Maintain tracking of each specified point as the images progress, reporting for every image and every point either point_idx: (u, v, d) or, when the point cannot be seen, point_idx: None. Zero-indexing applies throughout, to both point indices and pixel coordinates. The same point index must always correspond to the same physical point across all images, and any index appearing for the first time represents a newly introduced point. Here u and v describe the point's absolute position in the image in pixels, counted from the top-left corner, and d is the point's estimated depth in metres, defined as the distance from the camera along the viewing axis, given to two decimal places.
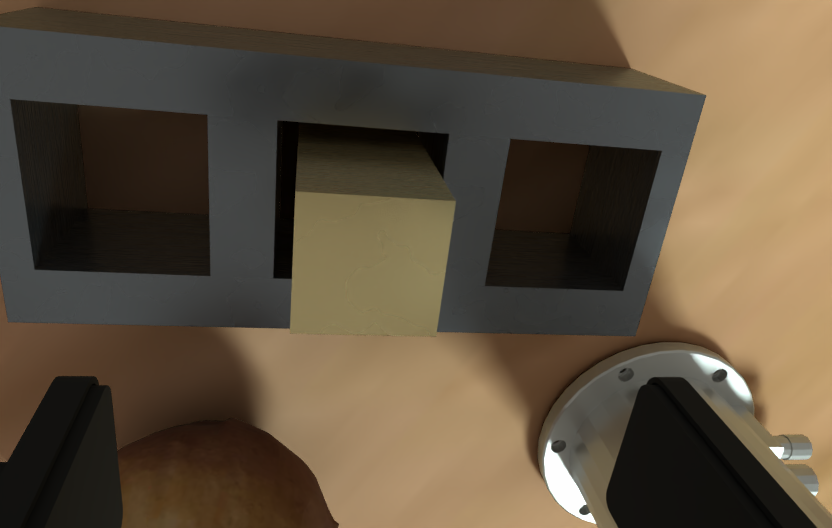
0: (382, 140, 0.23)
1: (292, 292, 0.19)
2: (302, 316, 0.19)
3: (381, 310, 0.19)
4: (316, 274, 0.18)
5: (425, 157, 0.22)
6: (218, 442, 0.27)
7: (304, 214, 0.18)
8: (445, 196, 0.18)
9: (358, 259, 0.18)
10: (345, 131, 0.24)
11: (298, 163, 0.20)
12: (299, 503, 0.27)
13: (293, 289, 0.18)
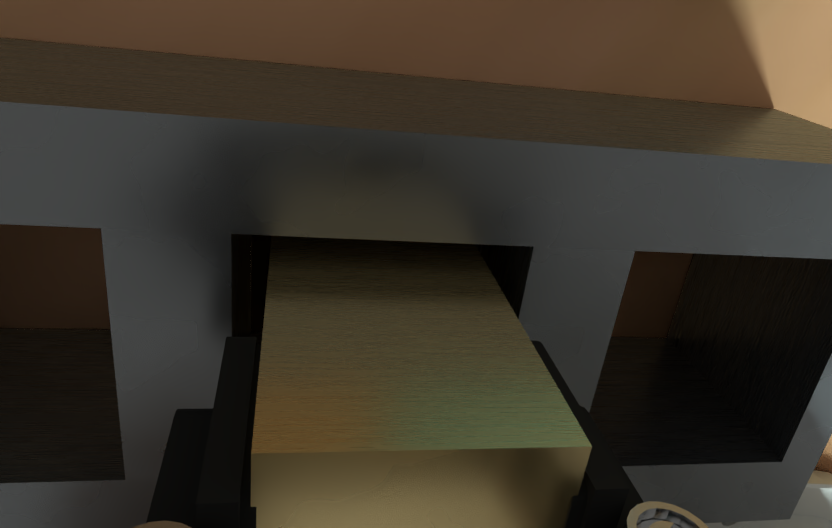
0: (413, 249, 0.14)
1: None
2: None
3: None
4: None
5: (494, 292, 0.12)
6: None
7: (272, 492, 0.08)
8: (566, 429, 0.09)
9: None
10: None
11: (265, 337, 0.10)
12: None
13: None
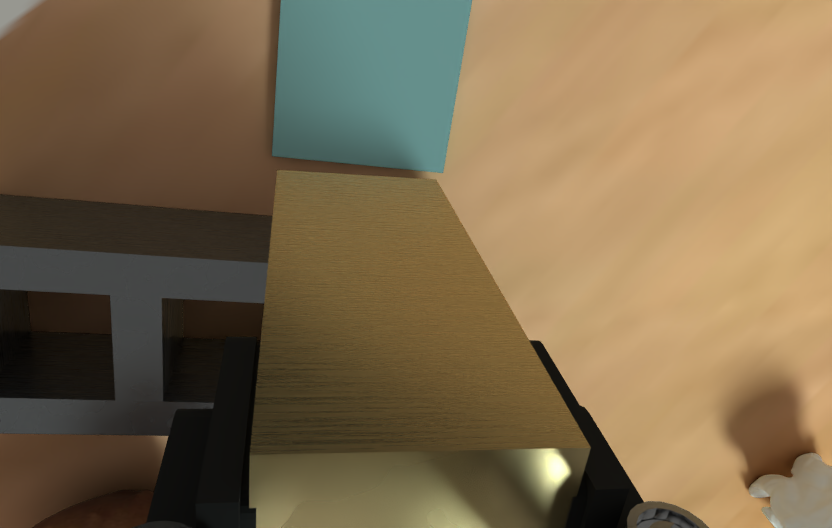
0: (413, 249, 0.14)
1: None
2: None
3: None
4: None
5: (493, 293, 0.12)
6: (126, 514, 0.36)
7: (270, 493, 0.08)
8: (564, 430, 0.09)
9: None
10: (349, 230, 0.14)
11: (263, 338, 0.10)
12: None
13: None
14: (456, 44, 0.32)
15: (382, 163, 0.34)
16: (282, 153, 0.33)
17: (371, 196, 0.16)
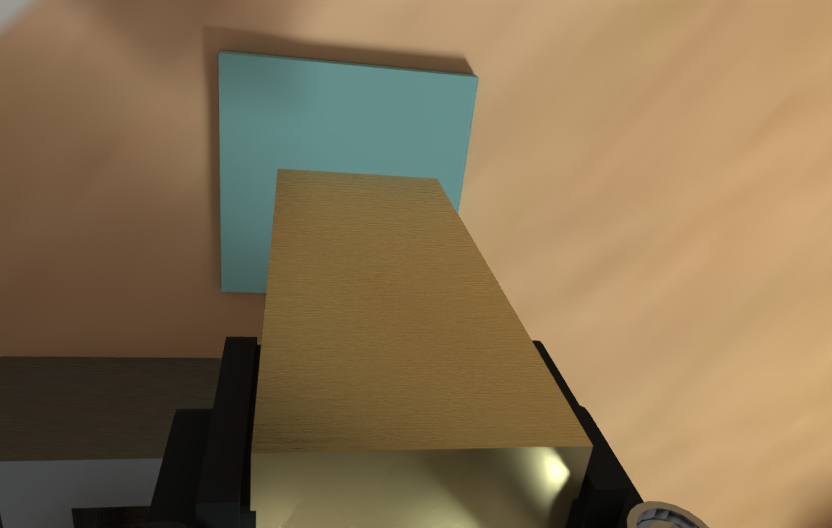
0: (414, 248, 0.14)
1: None
2: None
3: None
4: None
5: (494, 291, 0.12)
6: None
7: (272, 491, 0.08)
8: (567, 428, 0.09)
9: None
10: (350, 228, 0.14)
11: (265, 337, 0.10)
12: None
13: None
14: (458, 142, 0.24)
15: None
16: (234, 287, 0.25)
17: (372, 195, 0.16)
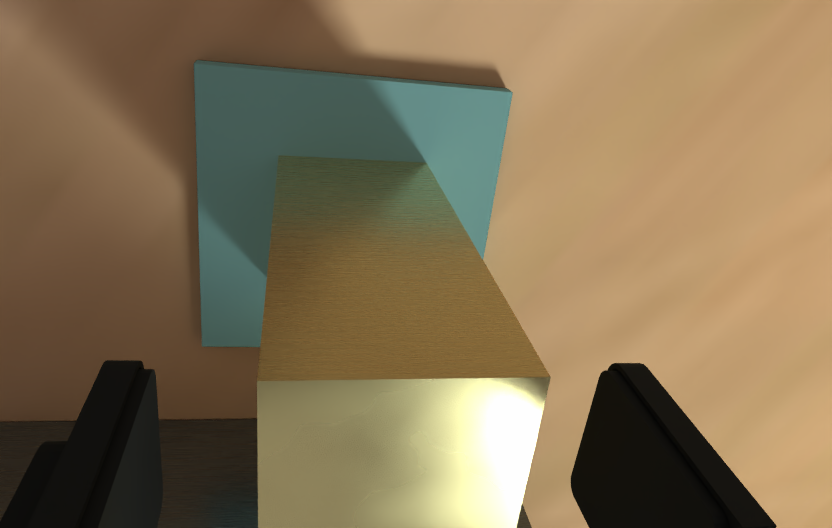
0: (402, 222, 0.15)
1: None
2: None
3: None
4: (301, 506, 0.10)
5: (473, 257, 0.14)
6: None
7: (275, 416, 0.10)
8: (528, 364, 0.10)
9: (375, 477, 0.10)
10: (345, 206, 0.16)
11: (267, 293, 0.11)
12: None
13: None
14: (485, 170, 0.20)
15: None
16: (218, 341, 0.21)
17: (365, 177, 0.18)
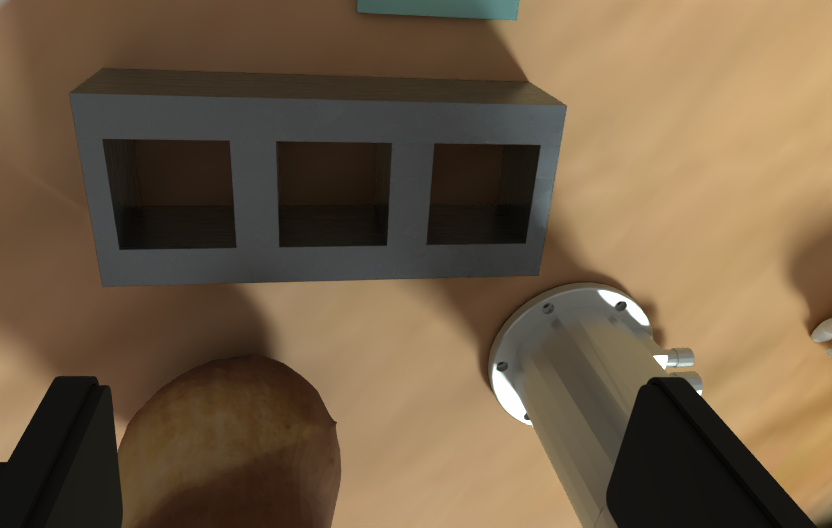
0: None
1: None
2: None
3: None
4: None
5: None
6: (247, 367, 0.39)
7: None
8: None
9: None
10: None
11: None
12: (307, 406, 0.38)
13: None
14: None
15: (459, 13, 0.36)
16: (367, 9, 0.35)
17: None
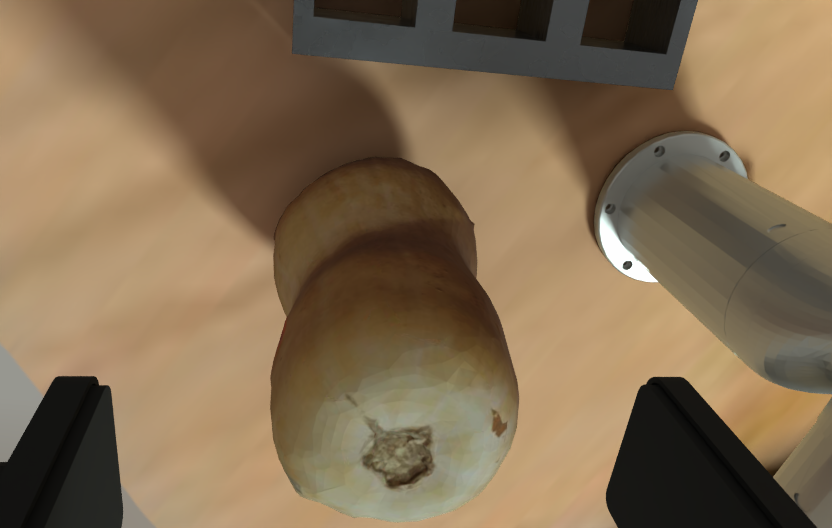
0: None
1: None
2: None
3: None
4: None
5: None
6: (399, 160, 0.42)
7: None
8: None
9: None
10: None
11: None
12: (454, 198, 0.41)
13: None
14: None
15: None
16: None
17: None
